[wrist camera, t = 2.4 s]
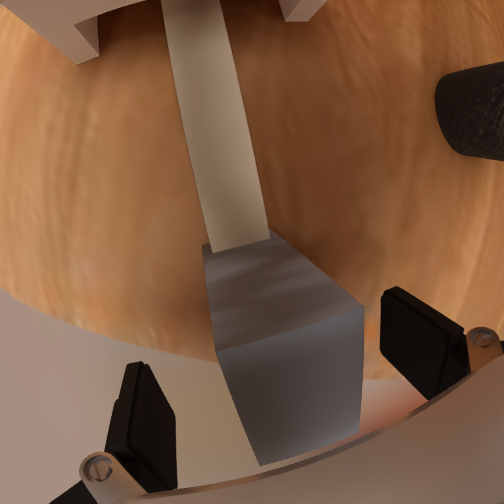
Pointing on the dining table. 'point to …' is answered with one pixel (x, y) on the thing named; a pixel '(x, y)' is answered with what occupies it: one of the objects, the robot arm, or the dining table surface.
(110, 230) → the dining table surface
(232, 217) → the grey block on stick
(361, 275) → the dining table surface
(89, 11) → the white open box
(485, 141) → the travel mug
